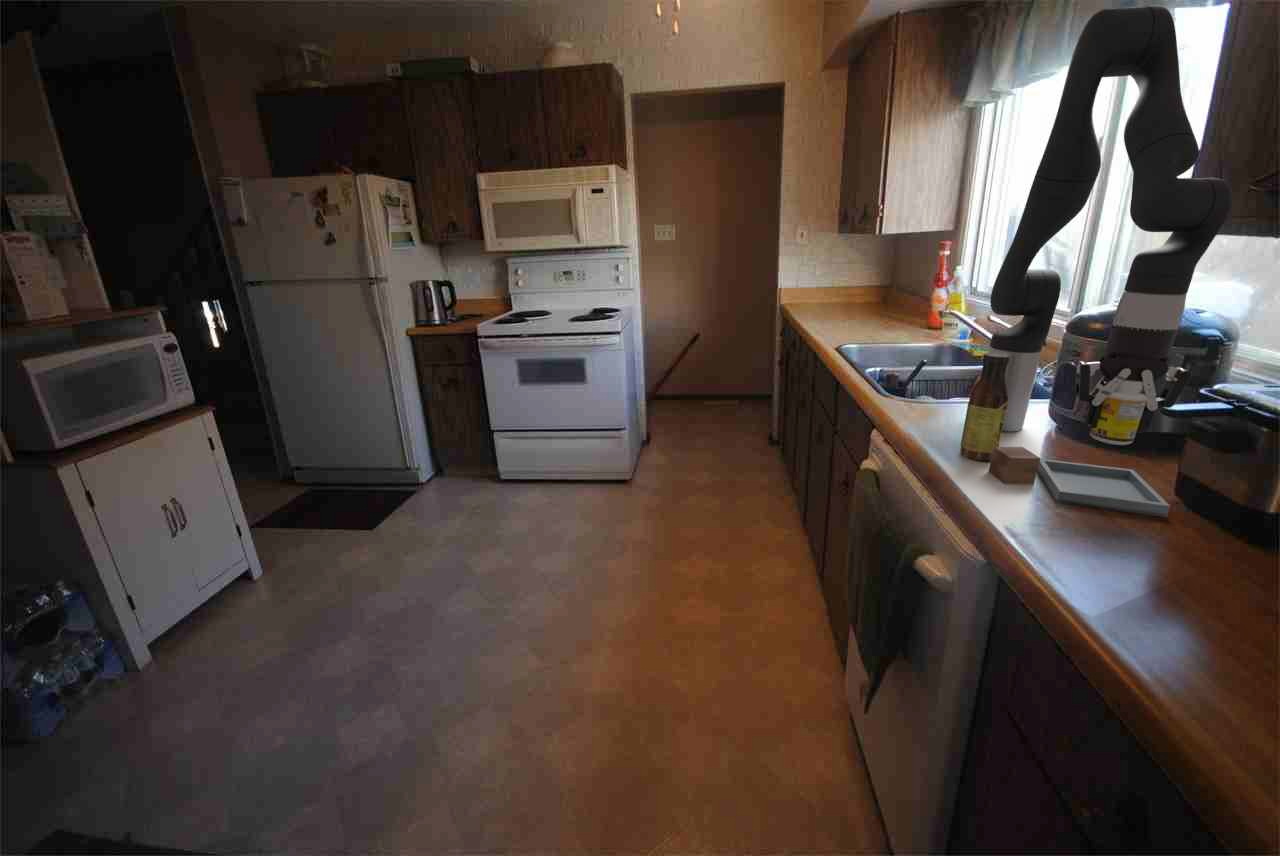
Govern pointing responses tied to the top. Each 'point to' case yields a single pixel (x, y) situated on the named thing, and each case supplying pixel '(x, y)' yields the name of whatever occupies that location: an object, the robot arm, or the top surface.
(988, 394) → the sauce bottle
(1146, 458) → the top surface
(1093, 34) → the robot arm
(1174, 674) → the top surface
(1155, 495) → the tray
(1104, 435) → the supplement bottle
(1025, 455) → the walnut block
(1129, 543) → the top surface
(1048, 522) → the top surface
